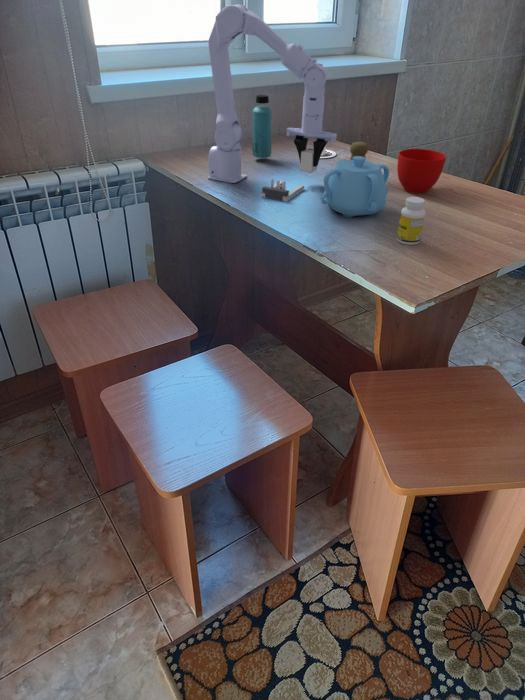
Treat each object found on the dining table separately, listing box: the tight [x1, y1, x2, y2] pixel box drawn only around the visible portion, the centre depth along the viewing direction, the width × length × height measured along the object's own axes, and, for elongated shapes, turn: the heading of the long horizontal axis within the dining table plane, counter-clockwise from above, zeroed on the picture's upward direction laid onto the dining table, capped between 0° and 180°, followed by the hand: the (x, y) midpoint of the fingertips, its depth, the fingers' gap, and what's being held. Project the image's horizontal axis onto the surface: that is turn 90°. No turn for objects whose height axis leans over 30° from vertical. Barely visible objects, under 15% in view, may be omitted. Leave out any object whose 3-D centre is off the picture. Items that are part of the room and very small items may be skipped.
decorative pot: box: [320, 156, 390, 219], centre depth 131 cm, size 16×16×14 cm
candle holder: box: [320, 145, 337, 159], centre depth 179 cm, size 12×12×4 cm
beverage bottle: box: [251, 94, 273, 159], centre depth 167 cm, size 6×7×20 cm
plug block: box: [299, 147, 318, 174], centre depth 149 cm, size 4×4×6 cm
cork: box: [349, 141, 369, 160], centre depth 153 cm, size 6×6×11 cm
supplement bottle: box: [396, 196, 426, 246], centre depth 116 cm, size 5×5×10 cm
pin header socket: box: [260, 178, 305, 202], centre depth 144 cm, size 8×12×4 cm, turn 152°
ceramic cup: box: [396, 148, 447, 195], centre depth 148 cm, size 13×17×10 cm
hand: (308, 164), depth 149 cm, fingers closed on plug block, 3 cm apart
